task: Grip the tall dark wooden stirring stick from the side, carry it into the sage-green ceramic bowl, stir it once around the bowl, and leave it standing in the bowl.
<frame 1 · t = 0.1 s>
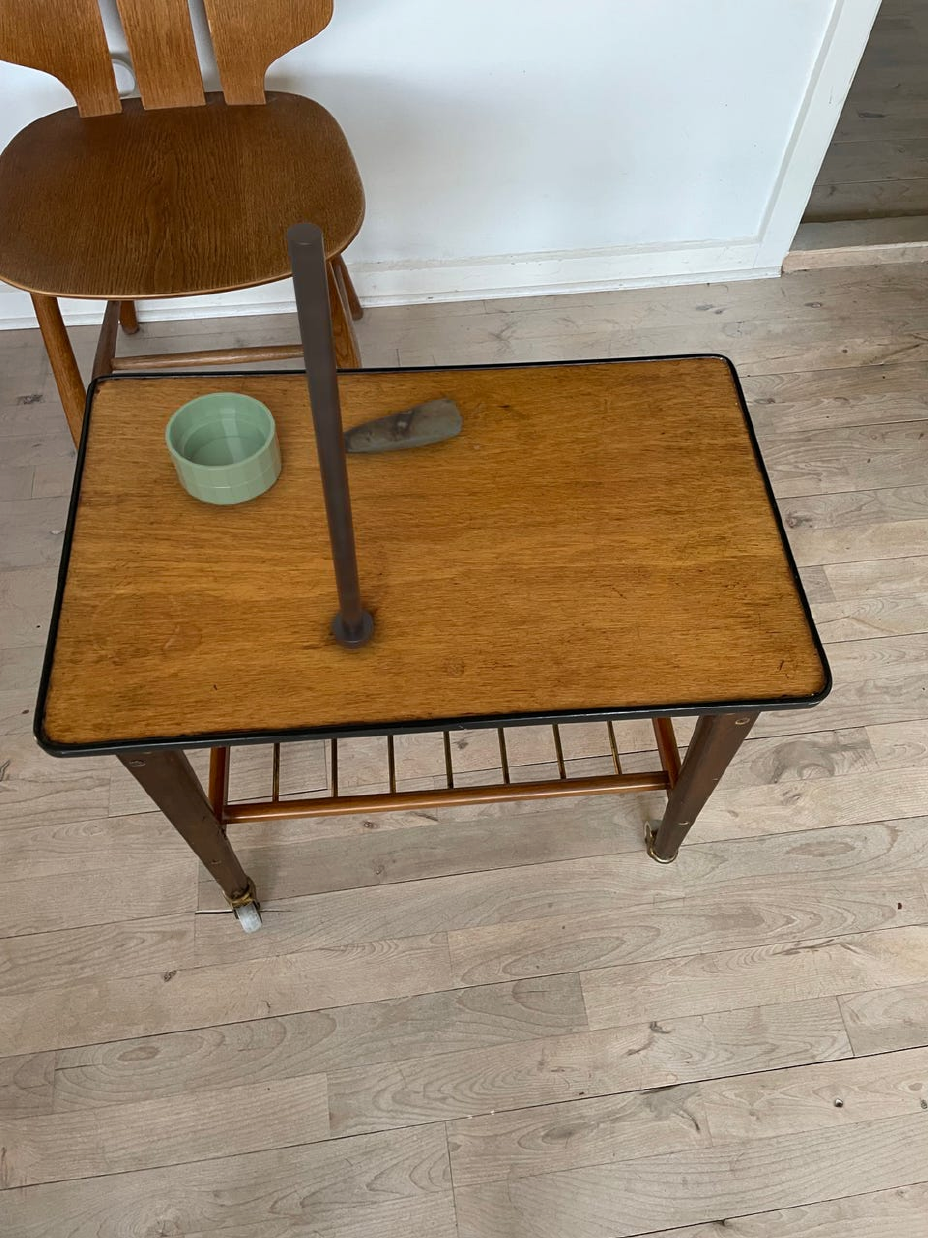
stone: (399, 435, 88), on the table
bowl: (231, 469, 84), on the table
stick: (353, 631, 75), on the table
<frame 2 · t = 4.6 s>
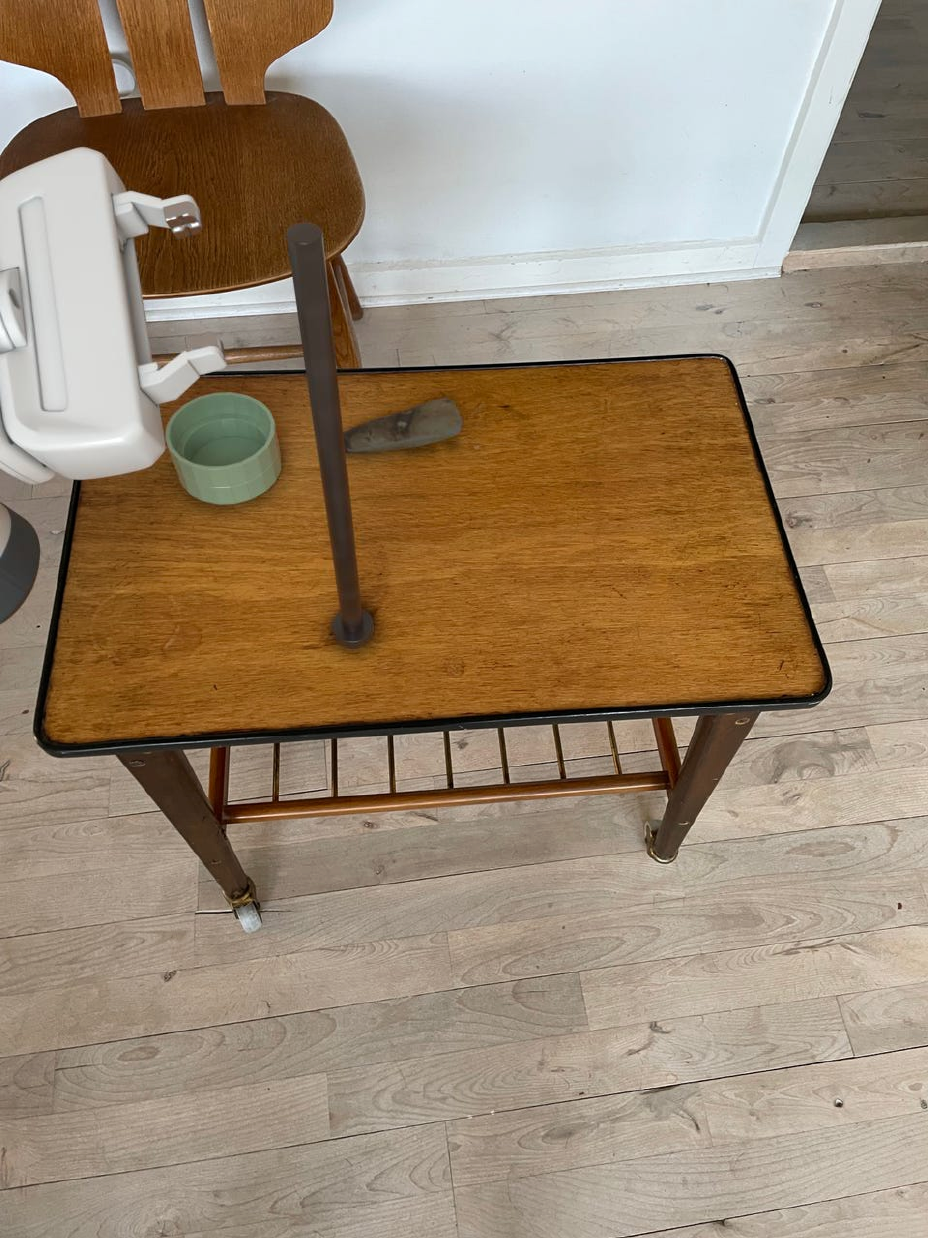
hand: (209, 279, 50), 32 cm above the table, tool horizontal, fingers open, 8 cm apart
nothing on the table moved.
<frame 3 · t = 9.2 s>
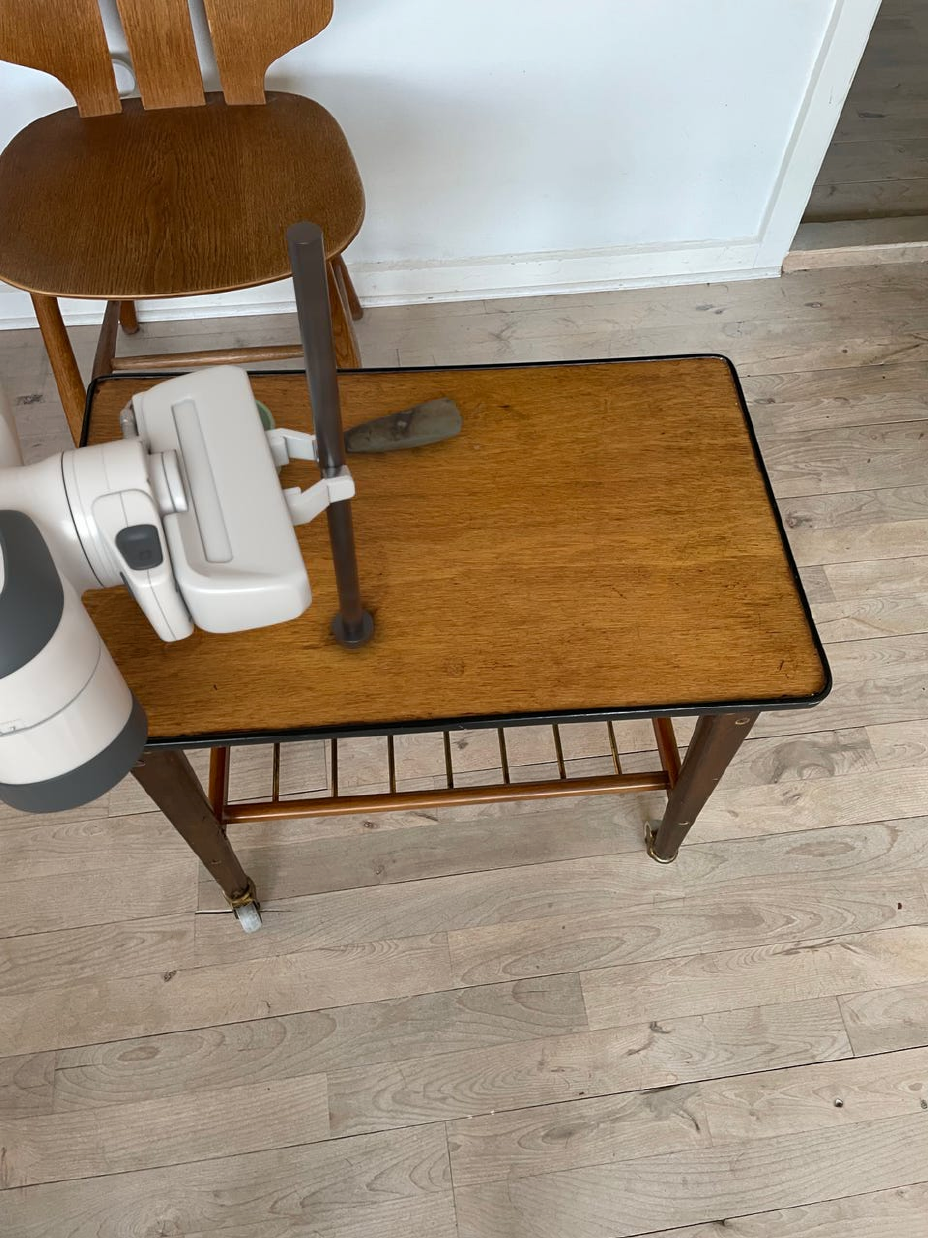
hand: (346, 463, 57), 21 cm above the table, tool horizontal, fingers closed on stick, 2 cm apart
stick: (353, 631, 75), on the table, touching gripper
everything else where it was.
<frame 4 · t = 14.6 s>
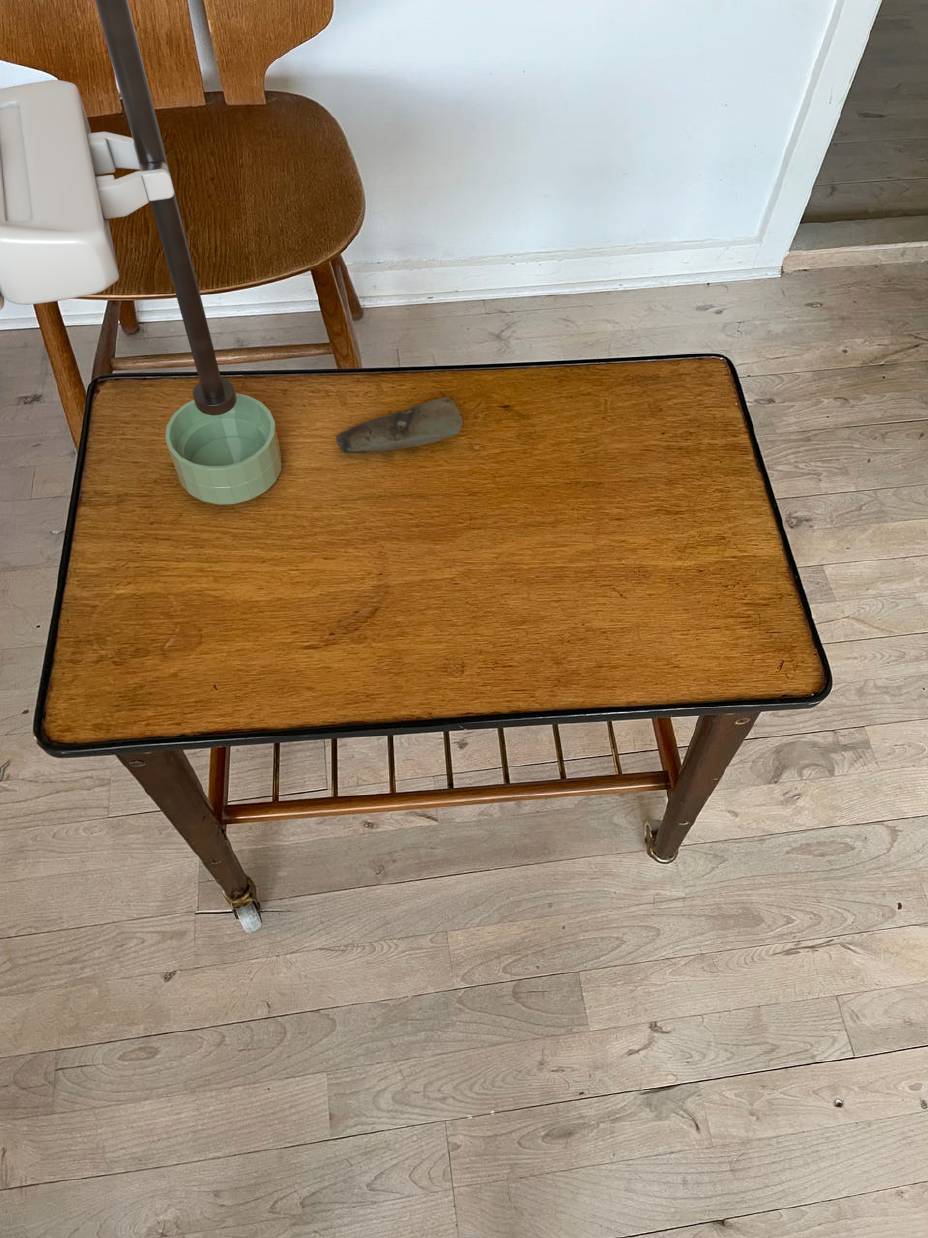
hand: (167, 166, 58), 31 cm above the table, tool horizontal, fingers closed on stick
stick: (216, 401, 75), point 10 cm above the table, touching gripper
everything else where it was.
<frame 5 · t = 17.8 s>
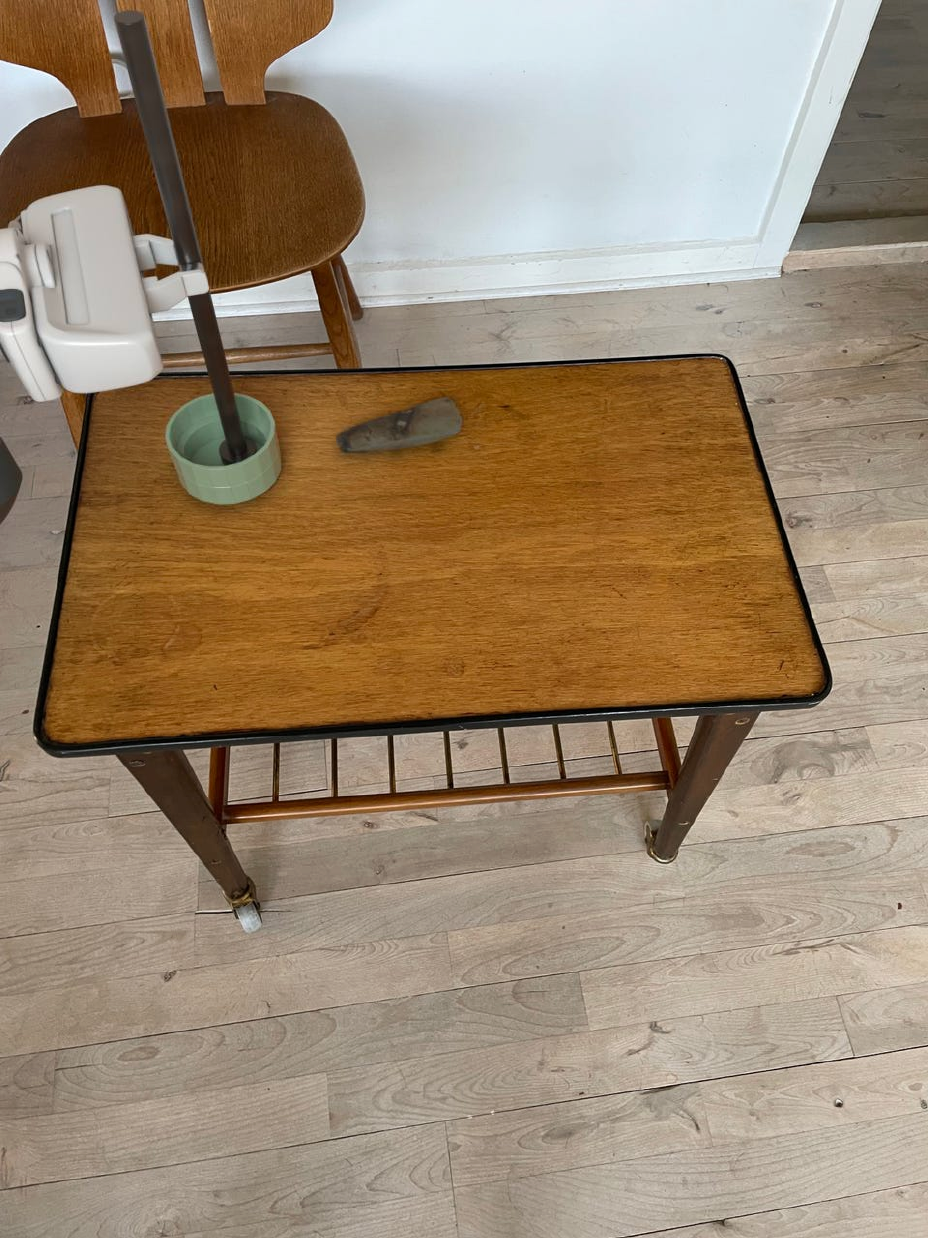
hand: (202, 264, 66), 22 cm above the table, tool horizontal, fingers closed on stick, 2 cm apart
stick: (239, 456, 83), point 1 cm above the table, touching gripper
everything else where it was.
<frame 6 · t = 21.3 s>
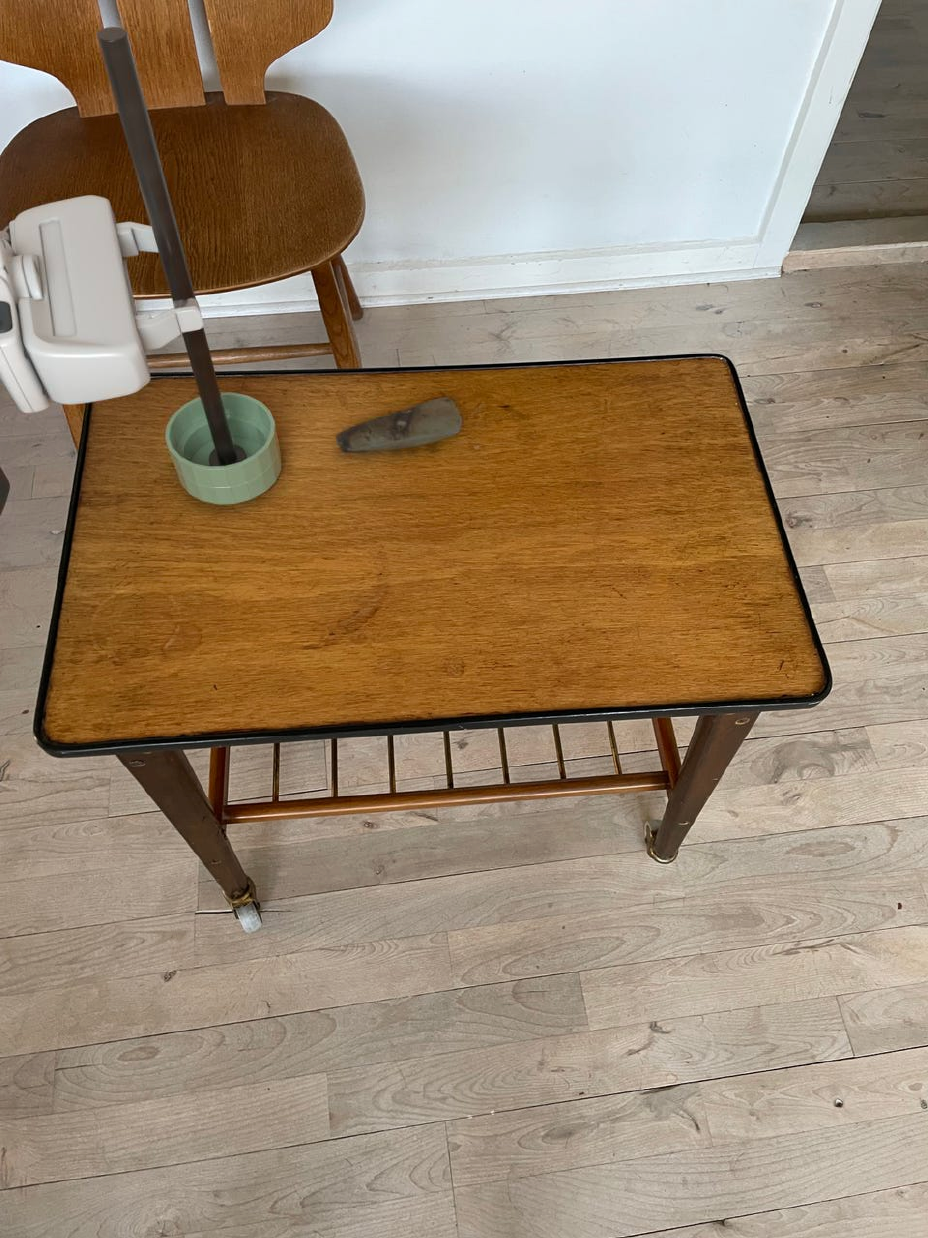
hand: (190, 274, 66), 22 cm above the table, tool horizontal, fingers open, 8 cm apart
stick: (229, 465, 84), point 1 cm above the table, touching bowl
everything else where it was.
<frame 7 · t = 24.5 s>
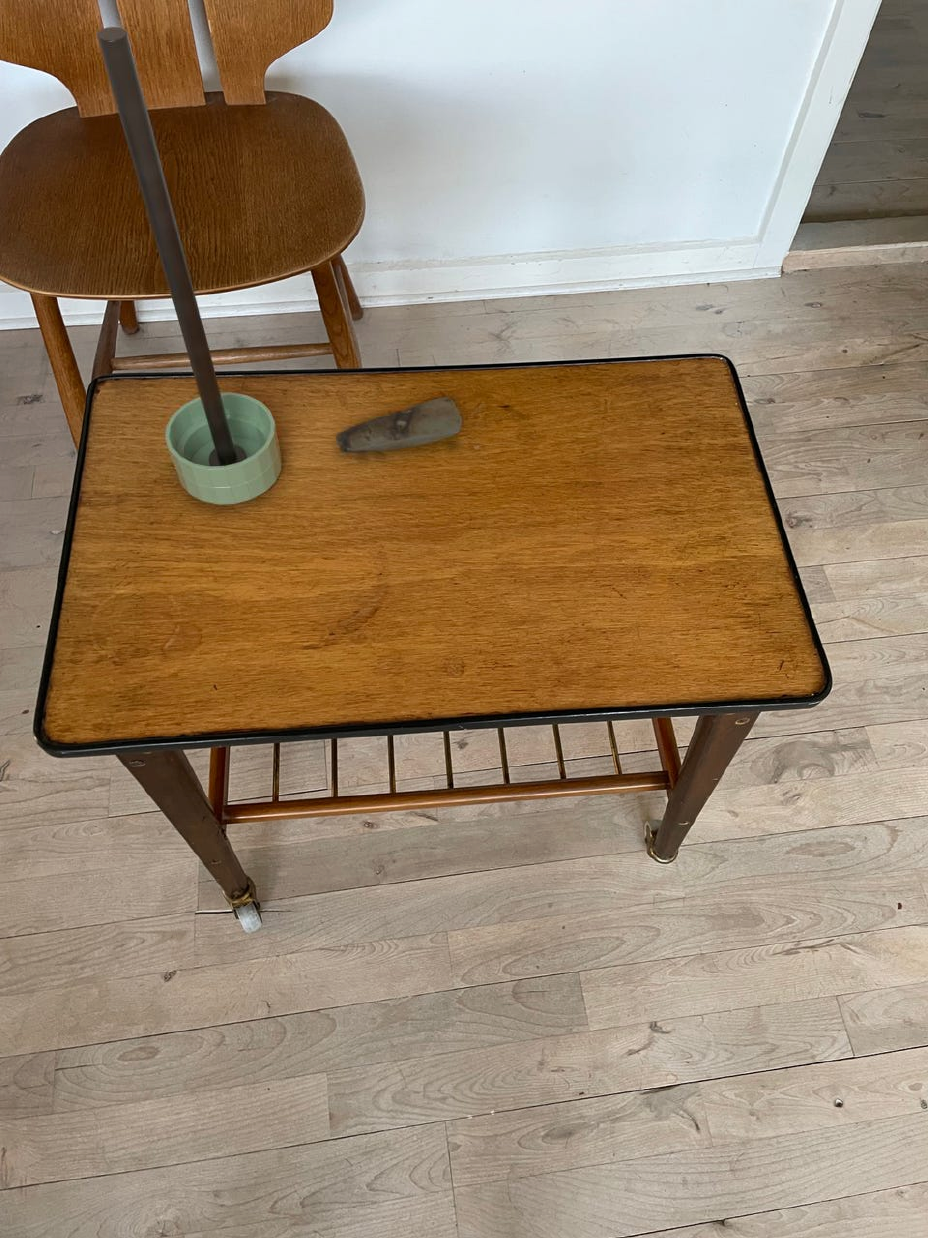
nothing on the table moved.
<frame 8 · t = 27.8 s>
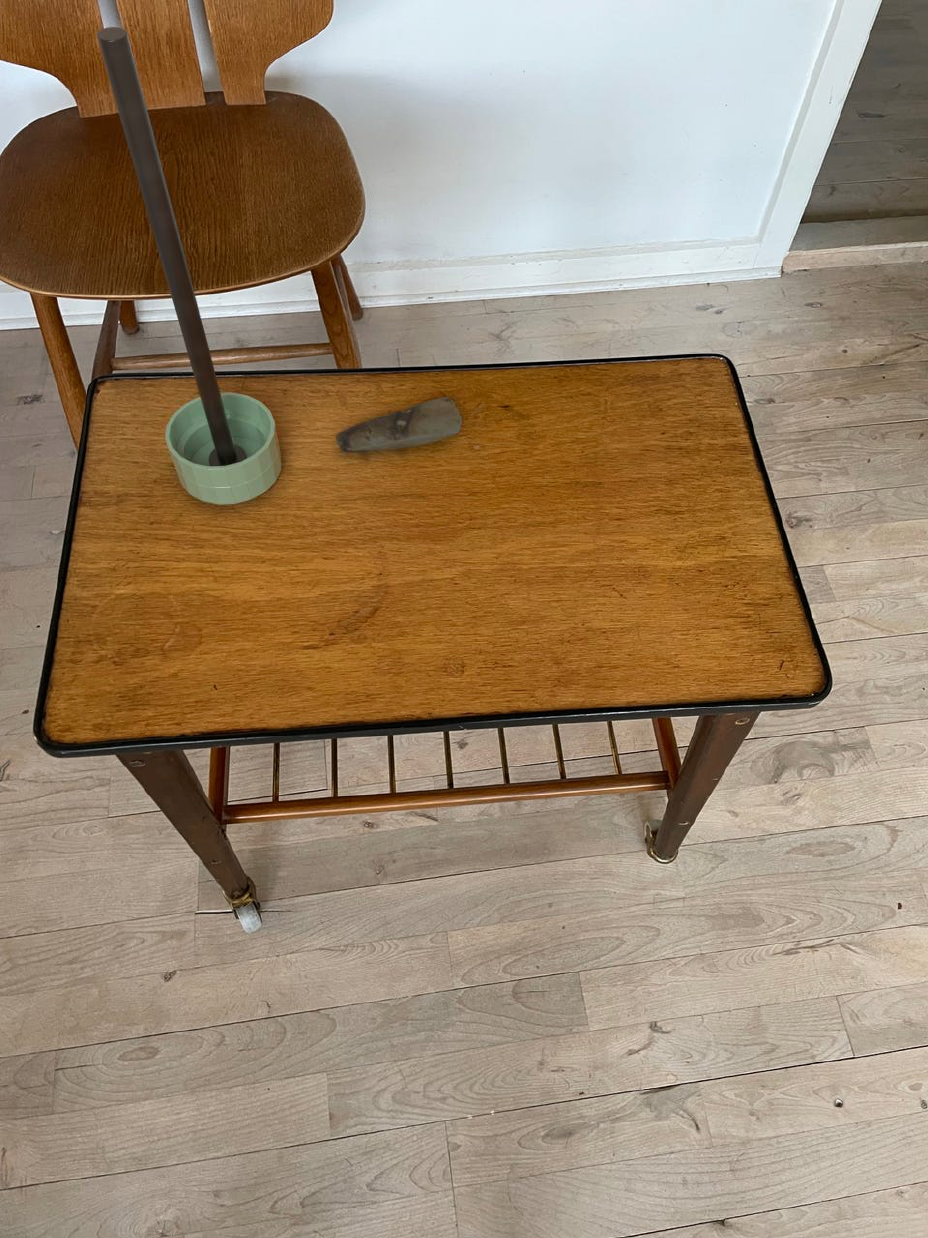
nothing on the table moved.
at the end: stick 0.1 cm off-centre in the bowl, point 0.6 cm above the bowl's base; the gripper is holding nothing; stick moved 22.9 cm from its start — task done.
